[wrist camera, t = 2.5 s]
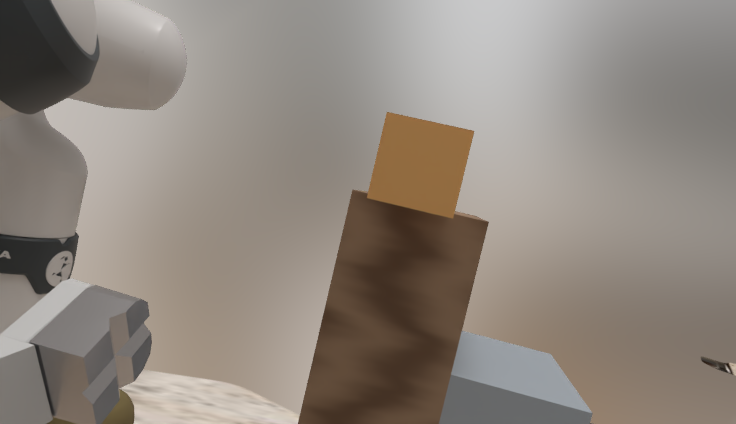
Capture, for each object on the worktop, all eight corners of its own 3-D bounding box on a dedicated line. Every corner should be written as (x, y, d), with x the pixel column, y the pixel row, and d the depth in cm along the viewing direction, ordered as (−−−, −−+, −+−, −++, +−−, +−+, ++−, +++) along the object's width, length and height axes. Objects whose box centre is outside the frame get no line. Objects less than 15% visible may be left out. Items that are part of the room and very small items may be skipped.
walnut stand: (255, 607, 34) (352, 189, 32) (303, 500, 46) (376, 192, 44) (382, 650, 33) (488, 222, 31) (398, 530, 45) (475, 216, 43)
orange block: (366, 197, 22) (386, 112, 22) (405, 199, 46) (415, 157, 46) (453, 218, 22) (474, 131, 22) (447, 208, 45) (457, 167, 45)
